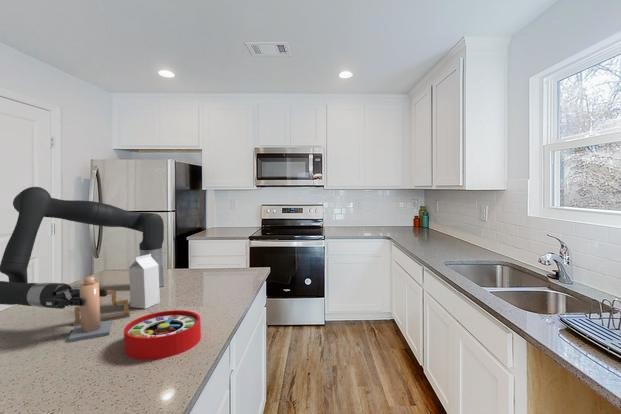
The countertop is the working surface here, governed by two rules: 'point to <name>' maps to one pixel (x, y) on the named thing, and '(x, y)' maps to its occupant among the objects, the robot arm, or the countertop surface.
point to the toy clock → (162, 334)
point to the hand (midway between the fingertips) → (95, 297)
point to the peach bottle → (90, 305)
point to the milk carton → (144, 282)
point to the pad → (80, 335)
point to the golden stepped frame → (110, 316)
